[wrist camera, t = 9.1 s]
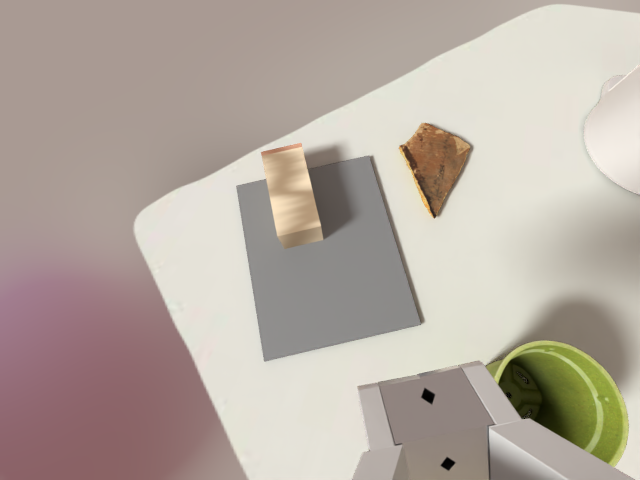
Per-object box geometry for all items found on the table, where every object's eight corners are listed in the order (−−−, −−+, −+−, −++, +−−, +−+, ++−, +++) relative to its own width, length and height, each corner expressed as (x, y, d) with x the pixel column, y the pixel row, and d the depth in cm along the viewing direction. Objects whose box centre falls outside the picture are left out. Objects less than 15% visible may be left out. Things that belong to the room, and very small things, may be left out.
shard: (431, 223, 39) (435, 217, 38) (372, 193, 41) (374, 187, 39) (470, 151, 42) (475, 143, 40) (413, 126, 44) (416, 117, 42)
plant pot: (435, 391, 33) (465, 404, 25) (496, 323, 35) (543, 315, 27) (515, 473, 31) (577, 517, 23) (577, 396, 33) (656, 411, 24)
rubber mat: (368, 158, 42) (368, 155, 41) (420, 325, 35) (421, 324, 35) (237, 188, 42) (236, 185, 41) (265, 361, 35) (264, 361, 35)
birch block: (323, 240, 38) (305, 164, 42) (321, 226, 34) (301, 142, 37) (284, 248, 38) (269, 172, 41) (277, 236, 34) (261, 152, 37)
